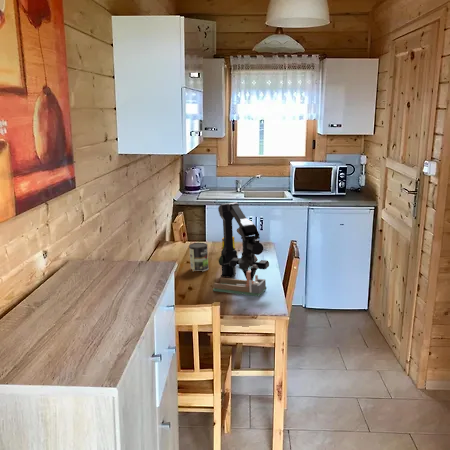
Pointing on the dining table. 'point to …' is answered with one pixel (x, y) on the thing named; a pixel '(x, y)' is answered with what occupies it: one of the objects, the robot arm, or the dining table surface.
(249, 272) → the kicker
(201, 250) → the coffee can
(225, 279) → the pitch
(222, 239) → the supplement box
